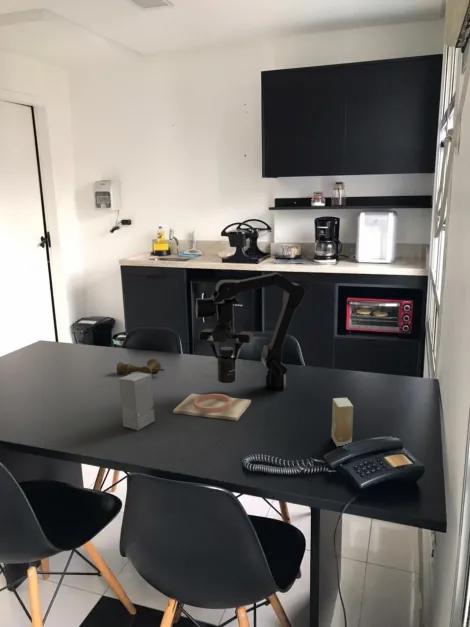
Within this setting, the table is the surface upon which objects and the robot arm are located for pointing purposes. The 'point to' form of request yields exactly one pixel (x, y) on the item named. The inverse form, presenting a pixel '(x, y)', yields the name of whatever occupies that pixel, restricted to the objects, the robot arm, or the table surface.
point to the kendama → (151, 367)
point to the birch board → (230, 414)
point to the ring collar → (212, 409)
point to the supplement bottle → (226, 365)
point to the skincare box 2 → (342, 421)
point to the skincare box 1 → (137, 400)
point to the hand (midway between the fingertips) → (226, 358)
